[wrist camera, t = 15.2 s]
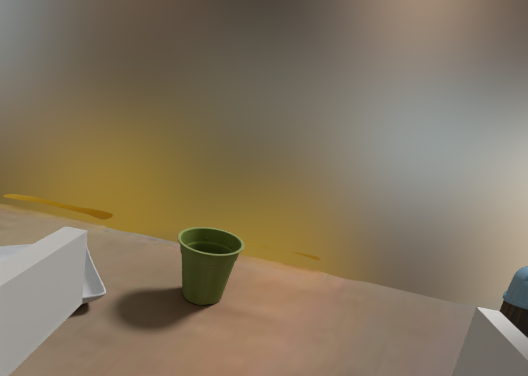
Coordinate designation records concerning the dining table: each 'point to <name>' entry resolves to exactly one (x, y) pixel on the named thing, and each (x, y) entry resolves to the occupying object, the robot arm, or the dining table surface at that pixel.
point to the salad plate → (92, 280)
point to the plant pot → (207, 262)
